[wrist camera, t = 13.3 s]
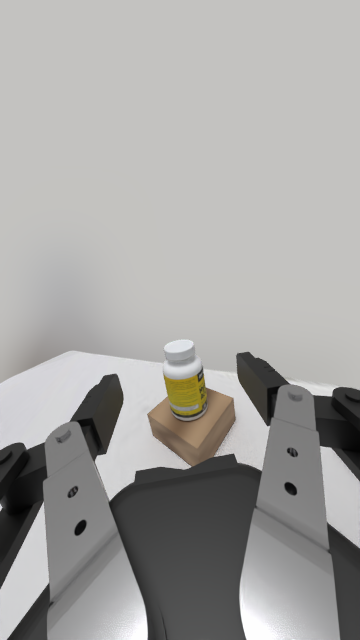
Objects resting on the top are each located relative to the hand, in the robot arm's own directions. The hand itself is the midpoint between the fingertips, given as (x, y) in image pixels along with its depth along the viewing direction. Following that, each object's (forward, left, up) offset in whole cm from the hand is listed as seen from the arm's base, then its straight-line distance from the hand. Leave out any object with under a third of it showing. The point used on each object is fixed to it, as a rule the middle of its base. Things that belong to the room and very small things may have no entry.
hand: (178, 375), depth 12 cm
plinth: (-7, +8, -16) cm, 20 cm away
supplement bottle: (-7, +8, -13) cm, 16 cm away
